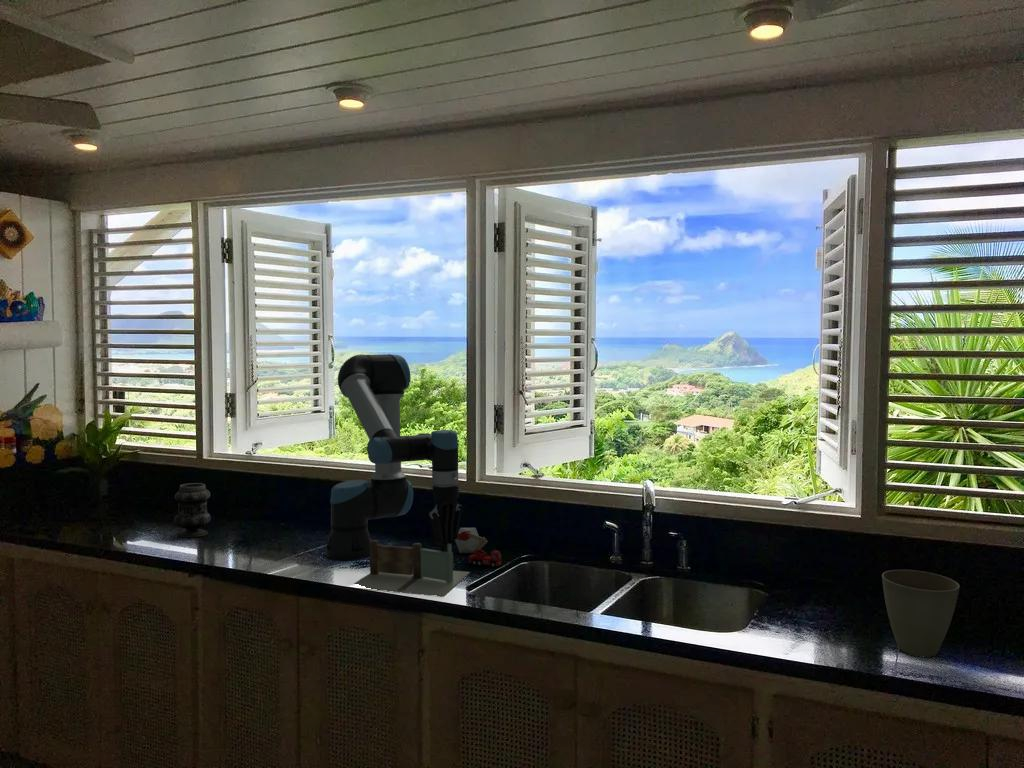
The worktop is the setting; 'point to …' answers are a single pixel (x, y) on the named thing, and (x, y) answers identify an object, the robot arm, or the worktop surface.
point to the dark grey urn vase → (192, 509)
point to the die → (467, 541)
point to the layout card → (411, 583)
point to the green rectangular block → (437, 564)
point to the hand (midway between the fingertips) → (446, 565)
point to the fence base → (395, 559)
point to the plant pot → (919, 609)
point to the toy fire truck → (480, 555)
